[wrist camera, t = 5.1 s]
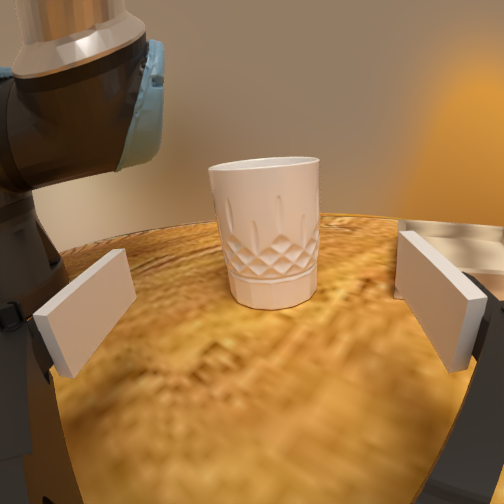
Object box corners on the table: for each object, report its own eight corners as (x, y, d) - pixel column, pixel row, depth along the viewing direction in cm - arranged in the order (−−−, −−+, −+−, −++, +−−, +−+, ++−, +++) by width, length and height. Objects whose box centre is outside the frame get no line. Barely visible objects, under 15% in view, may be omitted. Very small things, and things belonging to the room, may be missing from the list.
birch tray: (393, 298, 22) (396, 267, 21) (397, 241, 33) (398, 219, 32) (543, 307, 17) (551, 278, 16) (504, 249, 28) (507, 227, 27)
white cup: (204, 296, 26) (185, 170, 22) (268, 263, 31) (258, 157, 28) (283, 327, 21) (271, 169, 17) (341, 281, 26) (339, 157, 23)
